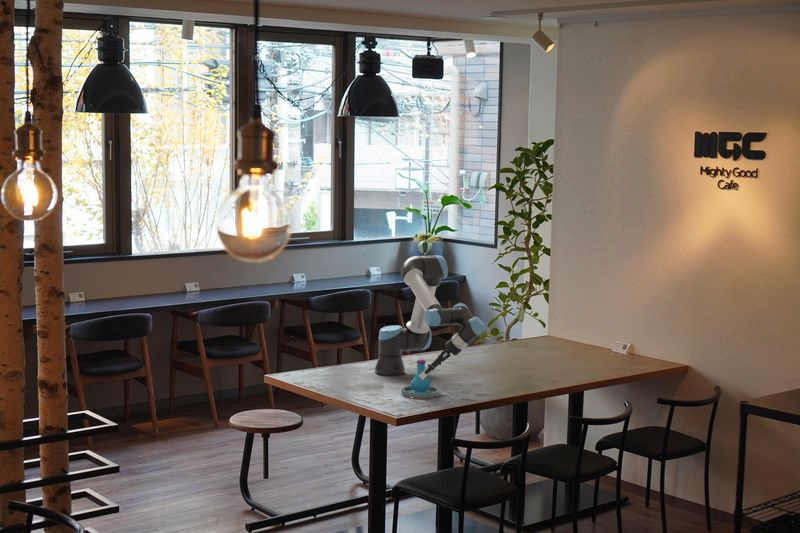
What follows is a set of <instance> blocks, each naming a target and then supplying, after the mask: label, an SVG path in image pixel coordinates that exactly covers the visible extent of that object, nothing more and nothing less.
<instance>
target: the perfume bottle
mask: <svg viewBox="0 0 800 533" xmlns="http://www.w3.org/2000/svg"><path fill="white" fill-rule="evenodd" d="M426 362H427V361H426V360H425V359H417V360H416V368H417V369H416V374H415V375H414V377H413V378H412V379H411V381H410V384H411V385H412V387H413V390H414V393H428V391H427V390H428V389H429V387H430V386H432V384H431V380H430V378H429V377H428V375H427V376H426V377H425V378H424V379H423V380H422V379H421V378H420V377H419V375H420V374H421V373H422V372H423V371H424V370H425V369H426Z"/></svg>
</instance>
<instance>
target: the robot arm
mask: <svg viewBox="0 0 800 533" xmlns="http://www.w3.org/2000/svg"><path fill="white" fill-rule="evenodd" d="M400 269H401V271H400V273H401V275H400V276H401V278H402V280H403V283H405V285H407V286H408V287H409V288H410V289H411V291H412V293H413V294H414V296H415V301H414V304H413V309H412V312H411V313H412V314H411V318H410V320H408V321H407V323H406V327H404V328H403V327H402V326H401V325H397V324H395V325H387V326H383V327H382V328H380V329H379V331H378V333H379V334H378V358H377V361H376V365H375V368H374V373H375V372H376V373H379V374H383V375H382V376H387V375H394V376H401V374H402V375H404V374H405V372H406V368H405V365H404V364H405V363H404V361H403V357H402V356H403V355H402V353H403V352H410V351H411V352H412V351H424V350H426V349H429V347H430V346H431V343H432V339H433V337H432V335H433V333H432V330H431V328H430V327H437V326H438V327H441V326H452V325H455V326H456V325H458V326H459V327H460V329H459V330H458V331H457V332H456V333H455V334H453V336H451V338H449V339H448V340H447V341H446V342H445V344H444V346H445V348H444V350H442V351H441V353H440V354H439V355H438V356H437V358H436V359H434V361H432V362H431V363H430V364H427V367H425V370H424V371H423V372H422V373H421V374H420V375H419V377H420V378H421V379H422V380H423V379H424V378H425V377H426V376H427V377H428V375H430V374H431V373H432V372H433V371H434V370H435V369H436V368H437V367H438V366H441V365H442V363H443V362H445V361H446V360H447V359H449V358H450V357H451V354H452V355H453V356H458V355H459V354H460V353H461V352H462V350H464V349H465V348H468V347H469V344H471V343H472V342H473V341H474V340H475V339H476V338H478V337H479V336H480V335H481V334H482V332H484V331H485V329H486V325H485V322H483V320H482V319H481V318H480V317H478V316H473V314H472V312H471V310H470V308H469V307H468V306H467V305H466V304H465V303H462V302H458V303H457V304H455V305H454V304H453V306H452V308H443V307H442V305H441V304H440V302H439V300H438V299H437V298H436V296H435V294H436V290H437V287H440V285H441V283H442V280H445V279H446V278H448V275H449V268H448V262H447V261H446V259H445V257H444V256H443V255H435V254H434V255H413V256H410V257H409V258H407V259H406V260H405V261H404V262H403V264H402V266H401V268H400ZM376 373H375V374H376ZM379 374H378V375H379Z"/></svg>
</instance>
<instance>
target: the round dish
mask: <svg viewBox="0 0 800 533" xmlns="http://www.w3.org/2000/svg"><path fill="white" fill-rule="evenodd" d="M400 390H401V391H400V392H401V395H402V394H403V395H405V396H408V397H407V398H409V397H413V398H412V399H416V398H428V399H434V398H438V397H439V396H440V393H441V390H440V388H439V387H437V386H434V385H433V386H432V385H430V387H429V389H428V390H427V391H428V393H414V390H413V387H412V385H406V386H403V387H402V388H401V389H400ZM403 395H402V396H403ZM405 396H404V397H405Z"/></svg>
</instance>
